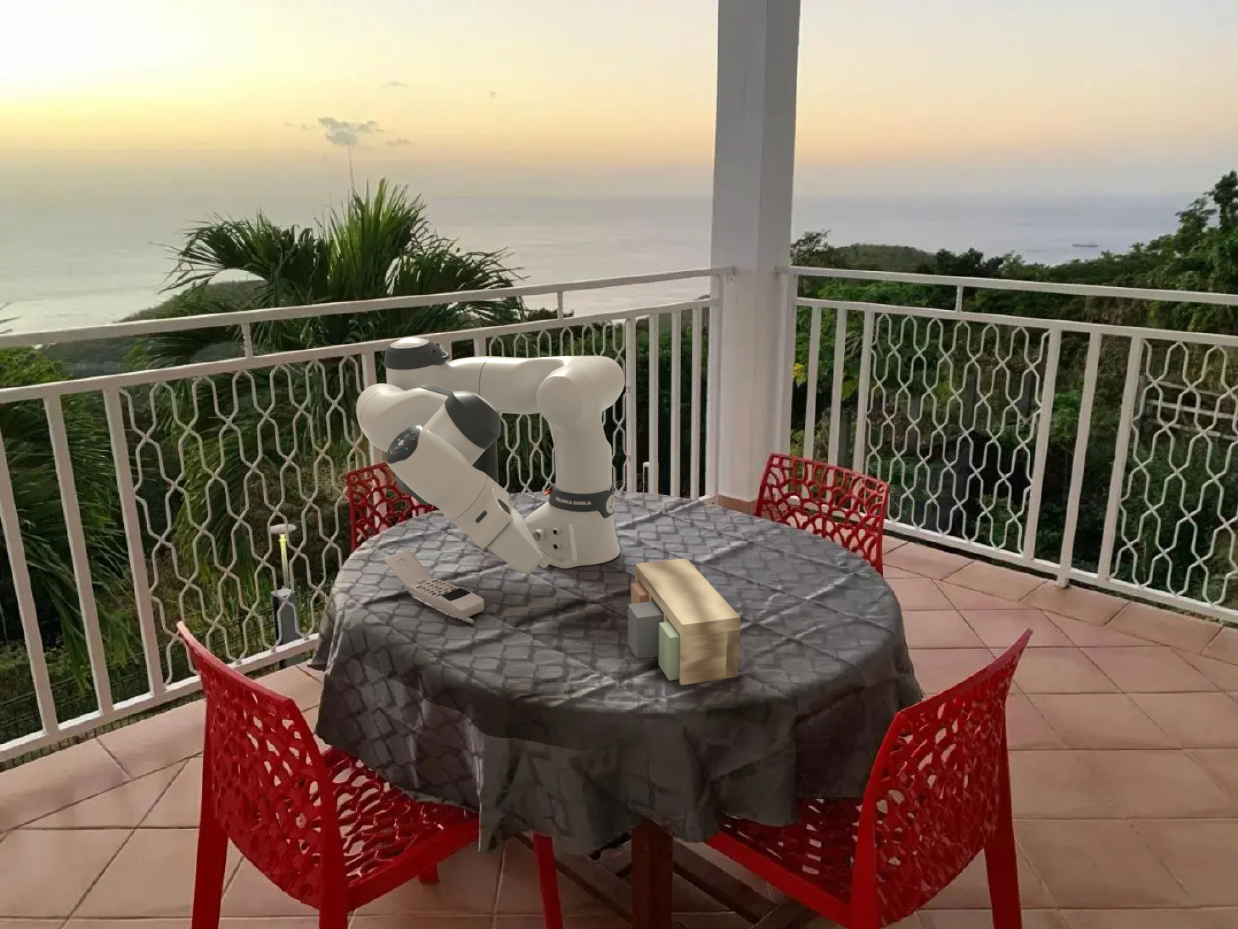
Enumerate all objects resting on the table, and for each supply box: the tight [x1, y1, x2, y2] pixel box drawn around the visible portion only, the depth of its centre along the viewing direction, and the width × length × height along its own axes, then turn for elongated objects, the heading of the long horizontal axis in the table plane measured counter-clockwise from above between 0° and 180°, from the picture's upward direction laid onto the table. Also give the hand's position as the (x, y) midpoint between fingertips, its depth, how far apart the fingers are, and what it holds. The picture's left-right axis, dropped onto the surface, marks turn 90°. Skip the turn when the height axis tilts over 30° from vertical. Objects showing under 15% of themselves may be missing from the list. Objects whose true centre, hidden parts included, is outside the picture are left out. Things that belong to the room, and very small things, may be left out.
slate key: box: [627, 601, 664, 660], centre depth 142 cm, size 7×5×7 cm
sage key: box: [658, 622, 680, 681], centre depth 136 cm, size 7×5×7 cm
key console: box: [634, 557, 741, 686], centre depth 143 cm, size 9×23×10 cm, turn 16°
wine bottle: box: [472, 439, 500, 485], centre depth 192 cm, size 6×6×30 cm
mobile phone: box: [383, 549, 485, 624], centre depth 161 cm, size 6×6×25 cm
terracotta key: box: [630, 582, 649, 604], centre depth 150 cm, size 7×5×7 cm
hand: (546, 561), depth 142 cm, fingers closed
